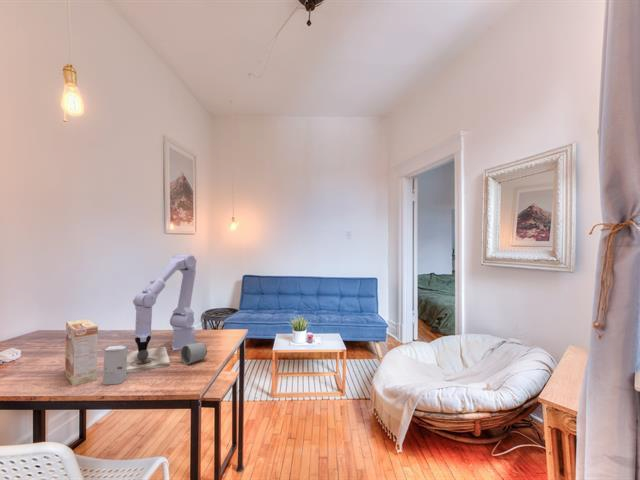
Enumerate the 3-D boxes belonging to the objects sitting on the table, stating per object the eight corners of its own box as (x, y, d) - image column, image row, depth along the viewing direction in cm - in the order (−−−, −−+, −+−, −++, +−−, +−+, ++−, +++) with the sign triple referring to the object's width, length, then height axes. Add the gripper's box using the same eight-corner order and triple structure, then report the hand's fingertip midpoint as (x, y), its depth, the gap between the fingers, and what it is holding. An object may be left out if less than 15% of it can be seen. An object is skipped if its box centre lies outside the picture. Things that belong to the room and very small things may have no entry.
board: (165, 349, 140) (165, 346, 140) (169, 365, 121) (169, 362, 121) (118, 356, 130) (118, 353, 130) (115, 375, 112) (115, 371, 112)
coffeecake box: (63, 373, 112) (65, 321, 113) (87, 368, 118) (89, 318, 118) (71, 386, 103) (73, 329, 103) (97, 380, 108) (98, 325, 108)
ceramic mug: (208, 360, 128) (208, 341, 128) (190, 366, 121) (190, 347, 121) (193, 355, 134) (193, 337, 134) (175, 361, 127) (176, 342, 127)
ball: (149, 359, 123) (146, 359, 125) (149, 348, 124) (147, 349, 127) (137, 360, 120) (135, 360, 123) (138, 349, 122) (136, 350, 124)
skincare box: (101, 385, 104) (102, 349, 104) (107, 379, 108) (108, 345, 108) (122, 383, 105) (122, 348, 105) (127, 378, 109) (128, 344, 110)
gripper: (132, 319, 129) (131, 351, 129) (132, 326, 117) (130, 362, 116) (151, 317, 133) (150, 348, 133) (152, 324, 121) (151, 359, 120)
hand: (142, 354), depth 125 cm, fingers closed, pressing on ball
